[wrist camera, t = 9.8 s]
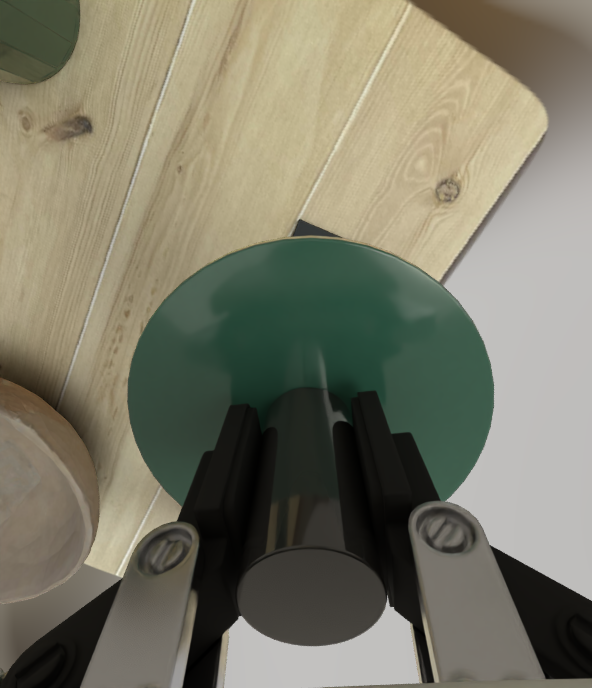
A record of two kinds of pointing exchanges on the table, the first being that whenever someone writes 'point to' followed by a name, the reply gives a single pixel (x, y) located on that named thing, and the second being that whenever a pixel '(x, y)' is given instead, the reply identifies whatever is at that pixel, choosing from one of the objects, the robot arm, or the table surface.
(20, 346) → the table surface
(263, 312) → the lid
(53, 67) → the pot
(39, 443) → the bowl
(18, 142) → the table surface
